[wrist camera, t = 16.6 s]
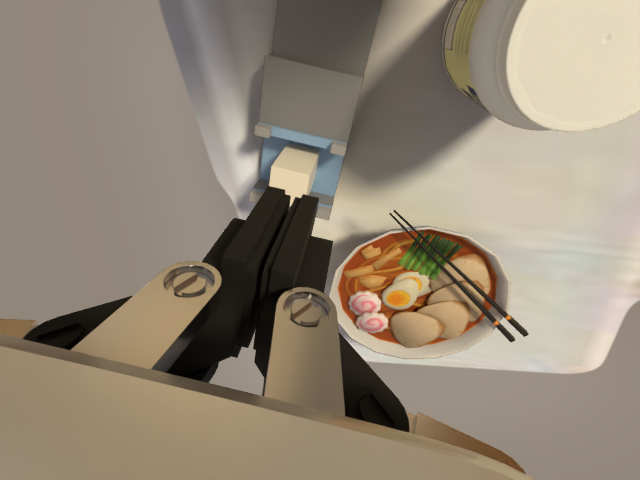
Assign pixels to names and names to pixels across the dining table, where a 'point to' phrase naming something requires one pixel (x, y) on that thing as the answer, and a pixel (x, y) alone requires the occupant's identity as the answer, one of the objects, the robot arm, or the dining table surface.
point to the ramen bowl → (421, 293)
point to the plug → (295, 170)
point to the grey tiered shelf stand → (314, 86)
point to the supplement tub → (546, 60)
